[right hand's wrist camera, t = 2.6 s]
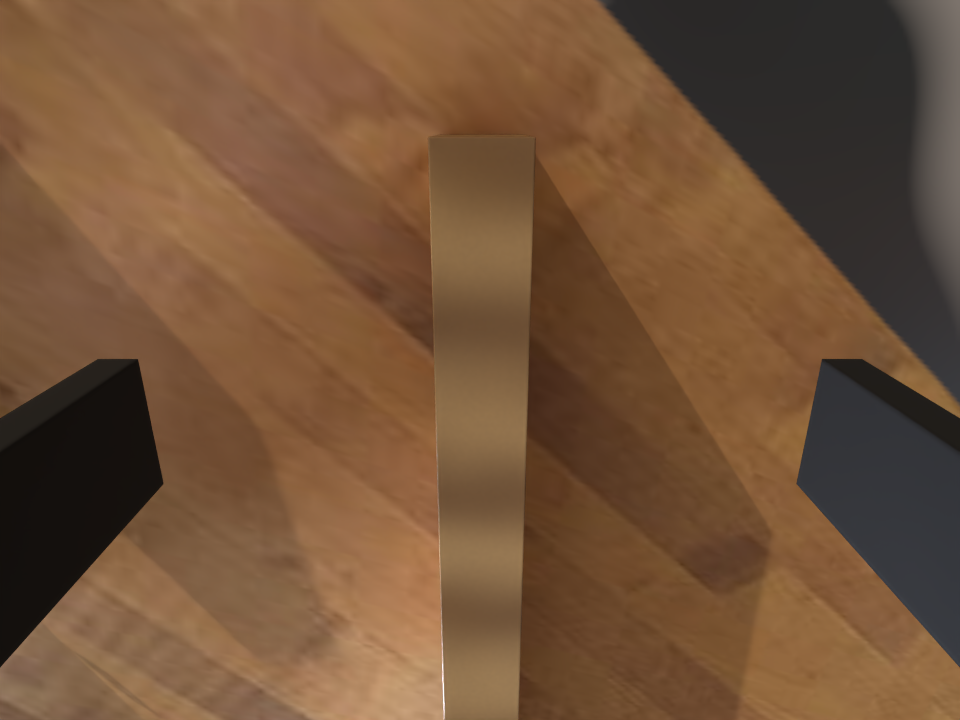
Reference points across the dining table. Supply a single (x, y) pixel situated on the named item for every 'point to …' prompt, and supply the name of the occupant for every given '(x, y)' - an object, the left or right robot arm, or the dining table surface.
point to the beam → (481, 409)
